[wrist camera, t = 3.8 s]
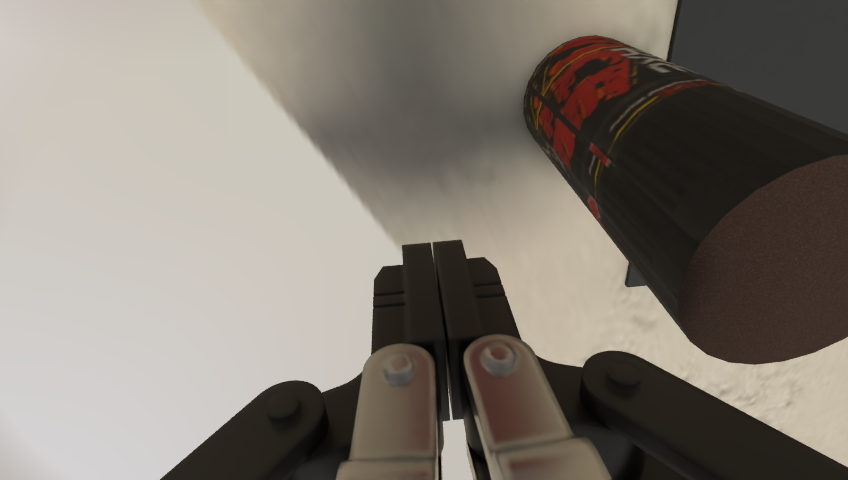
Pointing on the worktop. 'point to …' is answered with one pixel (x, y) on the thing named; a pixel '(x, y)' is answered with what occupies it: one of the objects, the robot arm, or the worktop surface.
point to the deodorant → (704, 195)
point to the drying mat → (768, 55)
